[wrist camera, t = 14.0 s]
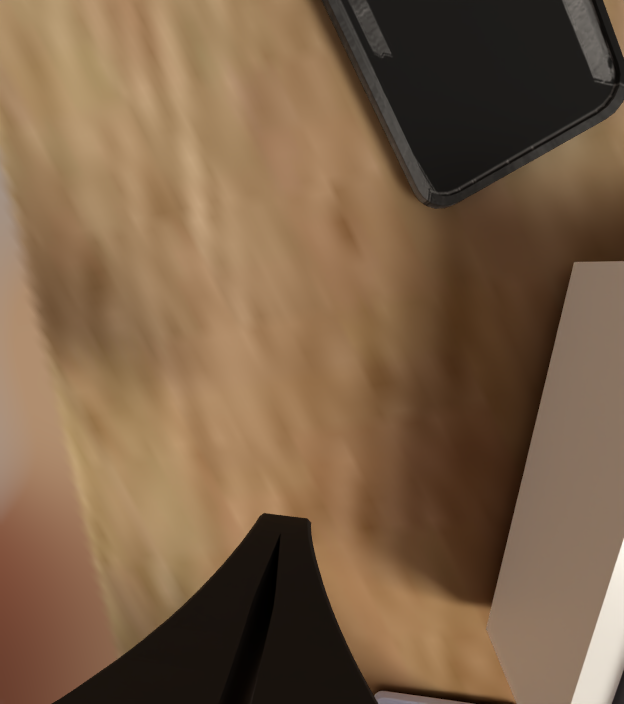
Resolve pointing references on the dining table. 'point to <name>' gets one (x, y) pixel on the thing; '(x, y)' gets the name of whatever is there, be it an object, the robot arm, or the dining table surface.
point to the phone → (480, 82)
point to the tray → (571, 513)
